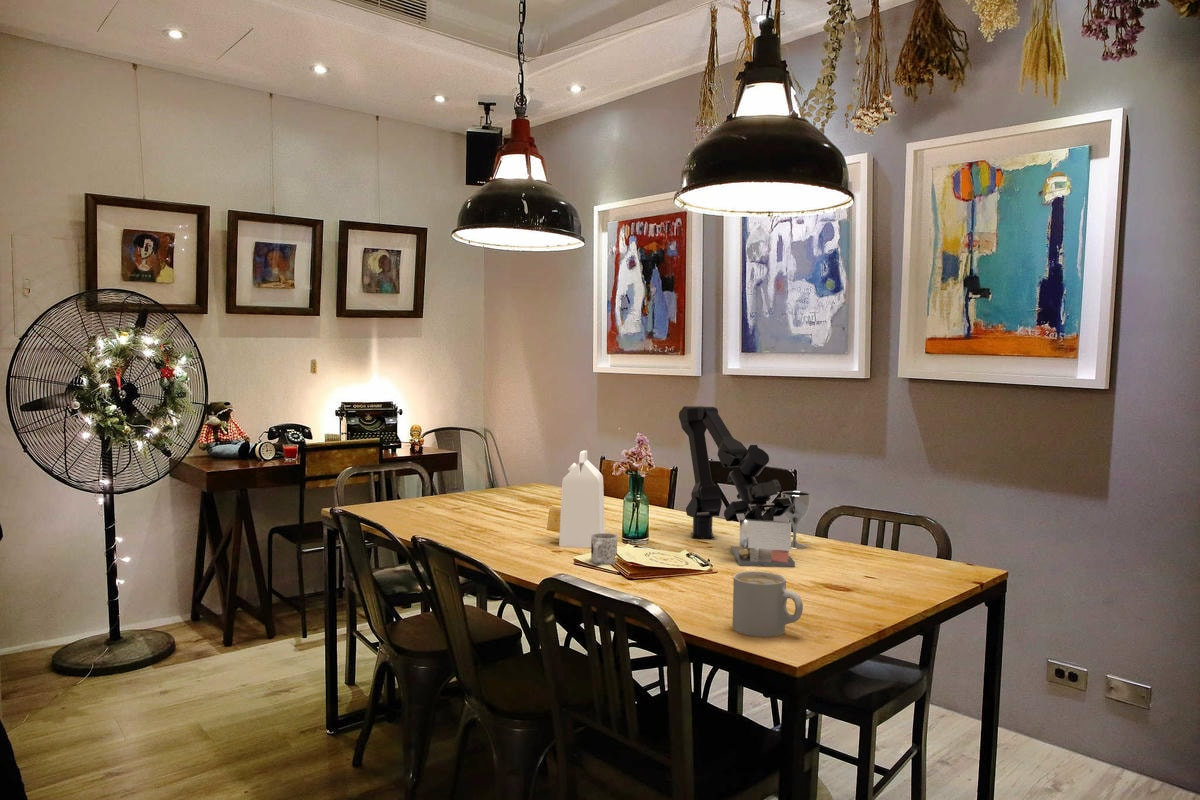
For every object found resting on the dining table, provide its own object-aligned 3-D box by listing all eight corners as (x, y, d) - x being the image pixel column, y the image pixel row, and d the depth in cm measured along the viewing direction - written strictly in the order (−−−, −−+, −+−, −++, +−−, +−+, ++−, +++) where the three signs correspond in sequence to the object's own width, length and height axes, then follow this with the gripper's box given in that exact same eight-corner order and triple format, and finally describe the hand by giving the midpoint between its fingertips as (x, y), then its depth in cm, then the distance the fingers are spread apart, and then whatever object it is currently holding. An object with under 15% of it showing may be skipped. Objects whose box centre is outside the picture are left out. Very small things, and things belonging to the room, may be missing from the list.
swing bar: (738, 547, 211) (739, 520, 211) (740, 544, 214) (740, 518, 214) (789, 551, 207) (790, 523, 207) (790, 548, 210) (791, 521, 210)
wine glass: (806, 543, 235) (807, 491, 235) (810, 549, 228) (812, 495, 227) (778, 542, 236) (779, 490, 236) (781, 548, 228) (783, 495, 228)
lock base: (730, 550, 225) (730, 537, 225) (781, 551, 225) (782, 538, 224) (739, 566, 208) (739, 552, 207) (795, 567, 207) (795, 553, 207)
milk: (600, 548, 226) (601, 454, 225) (559, 546, 227) (560, 453, 226) (605, 539, 238) (606, 449, 237) (565, 537, 239) (566, 448, 238)
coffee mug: (722, 628, 159) (723, 577, 158) (750, 617, 166) (751, 568, 165) (783, 645, 149) (784, 591, 149) (810, 632, 157) (811, 581, 156)
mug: (596, 557, 215) (596, 532, 215) (620, 559, 213) (620, 534, 213) (582, 566, 206) (582, 539, 206) (606, 568, 204) (607, 542, 203)
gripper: (732, 471, 211) (757, 523, 202) (789, 467, 219) (815, 517, 211) (713, 494, 218) (736, 546, 210) (768, 490, 227) (792, 539, 218)
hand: (770, 536), depth 212 cm, fingers closed
